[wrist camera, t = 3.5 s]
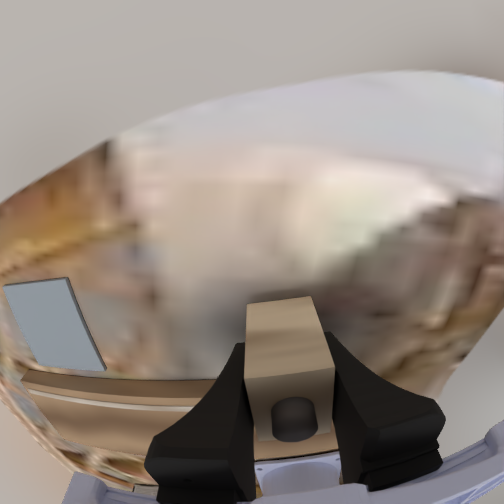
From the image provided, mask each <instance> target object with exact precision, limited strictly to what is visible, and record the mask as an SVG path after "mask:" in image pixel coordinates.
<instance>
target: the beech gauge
mask: <svg viewBox="0 0 504 504" xmlns="http://www.w3.org/2000/svg"><path fill="white" fill-rule="evenodd" d="M334 377H335V365H334V362H333V359H332V356H331V353H330V350H329V347H328V344H327V341H326V339H325V336H324V333H323V330H322V327H321V324H320V321H319V318H318V315H317V313H316V310H315V307H314V304H313V301H312V299H311V296H307V297H300V298H292V299H285V300H277V301H269V302H260V303H252V304H247V317H246V342H245V367H244V381H245V385H246V390H247V394H248V398H249V403H250V407H251V411H252V416H253V420H254V424H255V428H256V432H257V437H258V441H269V440H279V441H282V442H300V441H303V440H306V439H308V438H310V437H312V436H313V435H317V434H323V433H329V432H330V430H331V419H332V407H333V393H334Z"/></svg>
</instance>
